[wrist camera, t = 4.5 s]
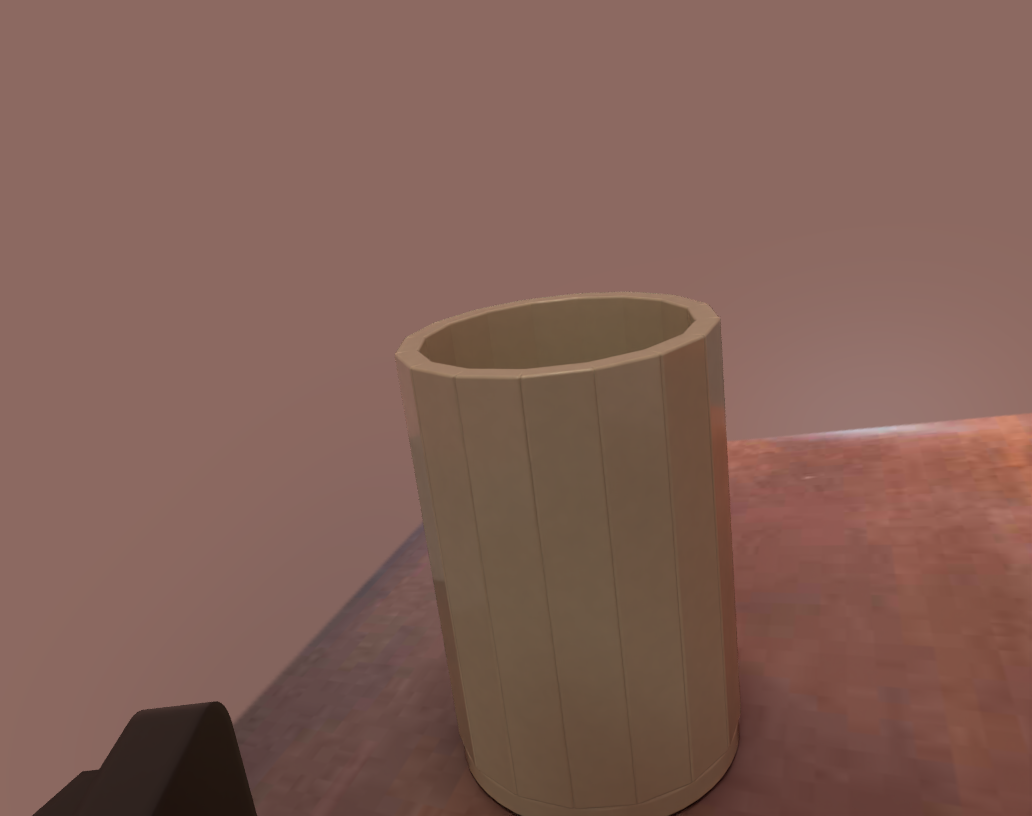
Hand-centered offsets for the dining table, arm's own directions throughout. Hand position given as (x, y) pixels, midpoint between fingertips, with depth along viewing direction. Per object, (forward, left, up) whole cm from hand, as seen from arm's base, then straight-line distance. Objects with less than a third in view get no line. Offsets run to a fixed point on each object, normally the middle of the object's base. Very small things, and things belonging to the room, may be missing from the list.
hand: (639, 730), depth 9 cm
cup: (+4, +10, -9) cm, 14 cm away
